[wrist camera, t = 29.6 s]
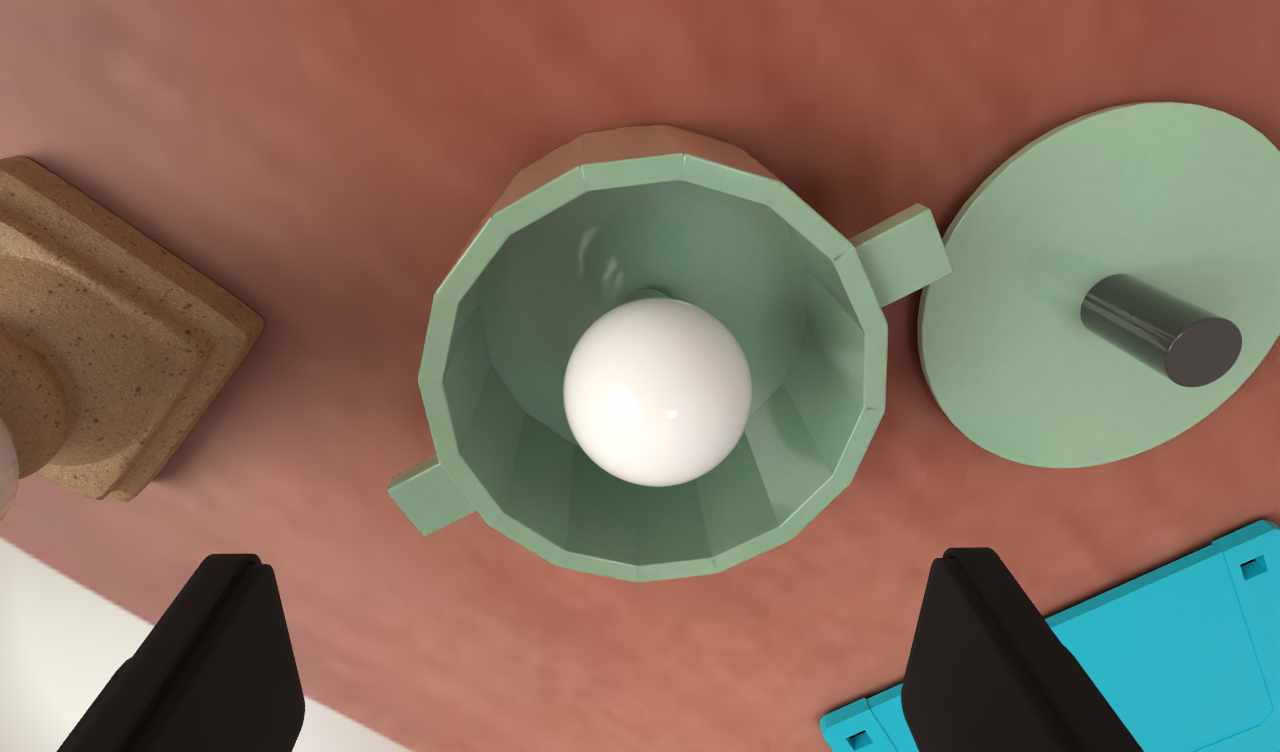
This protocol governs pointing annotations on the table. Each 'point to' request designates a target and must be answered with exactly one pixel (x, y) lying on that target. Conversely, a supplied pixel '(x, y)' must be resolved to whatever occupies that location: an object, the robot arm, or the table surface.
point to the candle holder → (100, 342)
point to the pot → (681, 269)
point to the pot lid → (1107, 285)
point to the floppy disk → (1156, 655)
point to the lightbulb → (657, 391)
